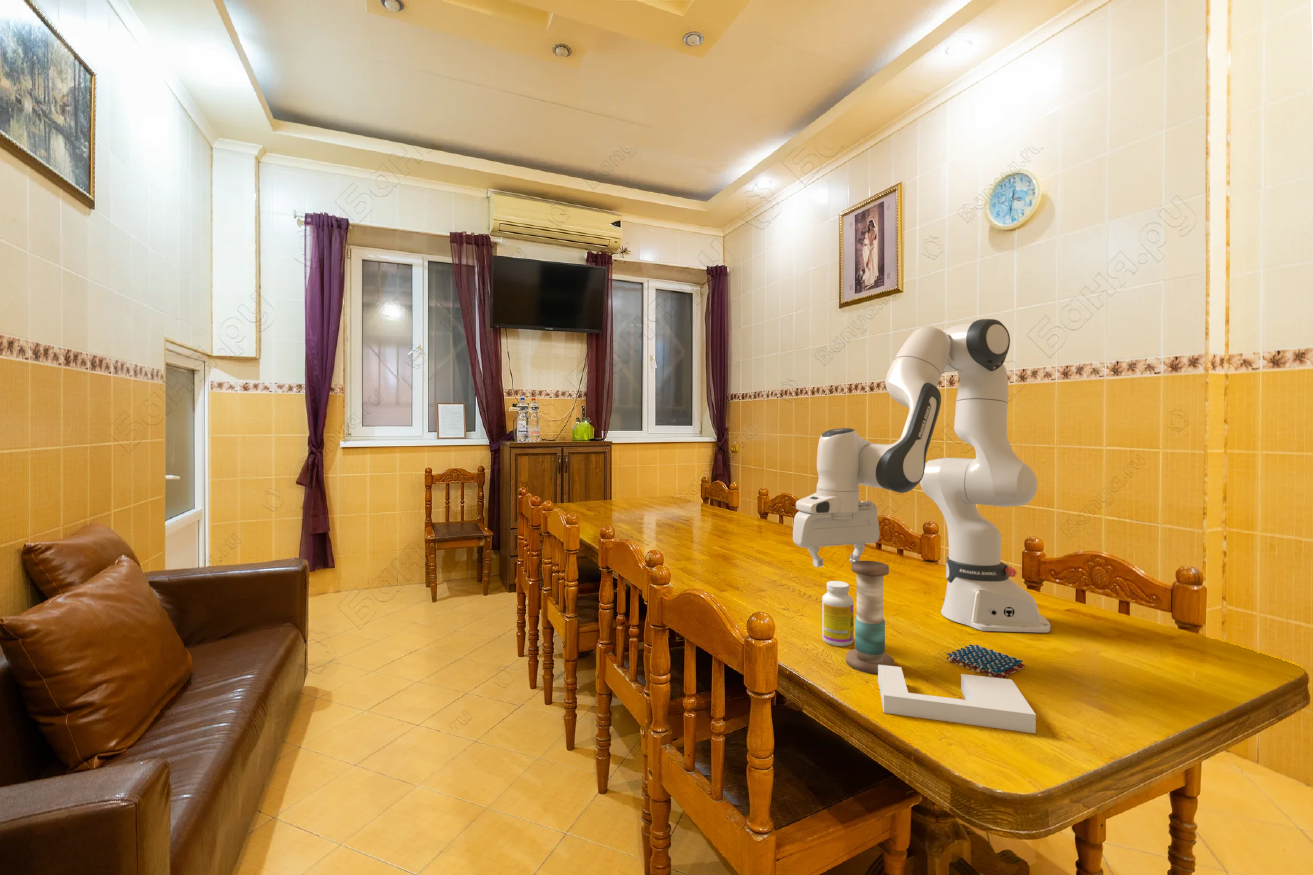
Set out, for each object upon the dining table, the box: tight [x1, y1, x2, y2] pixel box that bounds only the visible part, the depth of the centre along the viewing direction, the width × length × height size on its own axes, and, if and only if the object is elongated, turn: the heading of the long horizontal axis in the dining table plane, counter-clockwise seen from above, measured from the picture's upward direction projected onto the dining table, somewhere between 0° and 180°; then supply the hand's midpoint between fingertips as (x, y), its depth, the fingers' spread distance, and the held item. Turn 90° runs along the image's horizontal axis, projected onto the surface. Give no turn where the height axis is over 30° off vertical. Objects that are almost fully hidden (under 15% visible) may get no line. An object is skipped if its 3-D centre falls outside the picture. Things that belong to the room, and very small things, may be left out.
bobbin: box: [845, 560, 895, 675], centre depth 111 cm, size 9×9×20 cm
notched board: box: [877, 665, 1037, 734], centre depth 96 cm, size 22×12×3 cm, turn 73°
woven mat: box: [946, 644, 1026, 679], centre depth 111 cm, size 10×11×2 cm
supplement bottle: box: [821, 580, 855, 647], centre depth 123 cm, size 7×7×13 cm
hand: (836, 564), depth 122 cm, fingers open, 8 cm apart
